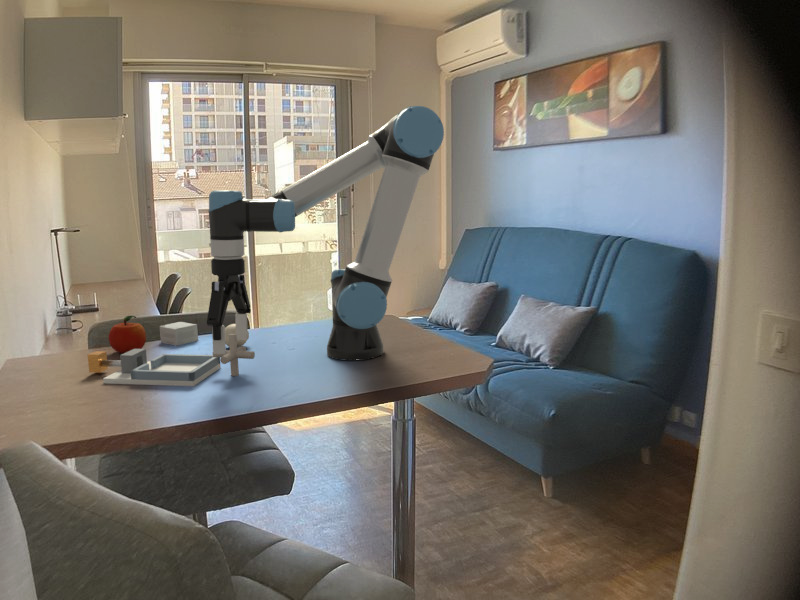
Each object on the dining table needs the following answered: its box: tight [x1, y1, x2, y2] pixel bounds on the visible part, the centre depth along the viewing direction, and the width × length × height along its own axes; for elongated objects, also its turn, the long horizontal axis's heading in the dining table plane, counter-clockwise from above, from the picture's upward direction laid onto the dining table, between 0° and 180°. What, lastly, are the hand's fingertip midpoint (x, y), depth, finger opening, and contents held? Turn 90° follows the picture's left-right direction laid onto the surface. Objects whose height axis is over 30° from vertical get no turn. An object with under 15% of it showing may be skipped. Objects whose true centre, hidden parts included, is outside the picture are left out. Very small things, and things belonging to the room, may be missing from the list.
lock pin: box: [87, 350, 121, 374], centre depth 153 cm, size 11×3×4 cm, turn 82°
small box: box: [159, 321, 199, 347], centre depth 186 cm, size 8×8×5 cm
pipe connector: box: [212, 333, 256, 377], centre depth 151 cm, size 10×10×10 cm
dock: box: [102, 348, 222, 387], centre depth 152 cm, size 22×15×6 cm
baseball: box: [225, 323, 250, 348], centre depth 178 cm, size 7×7×7 cm
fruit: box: [108, 315, 147, 355], centre depth 174 cm, size 10×10×10 cm
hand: (231, 346), depth 151 cm, fingers open, 13 cm apart
